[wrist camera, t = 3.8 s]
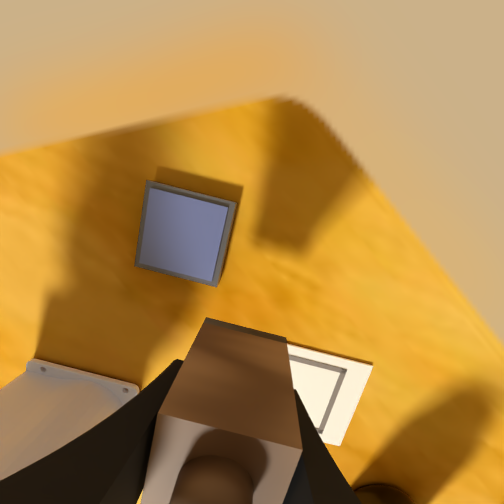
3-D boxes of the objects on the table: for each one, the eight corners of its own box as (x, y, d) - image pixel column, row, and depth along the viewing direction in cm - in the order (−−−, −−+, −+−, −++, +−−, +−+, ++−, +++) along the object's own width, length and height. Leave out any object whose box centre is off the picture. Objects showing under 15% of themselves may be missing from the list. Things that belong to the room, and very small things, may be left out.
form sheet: (225, 415, 20) (224, 417, 20) (247, 333, 19) (247, 334, 18) (339, 444, 20) (340, 446, 20) (372, 365, 18) (373, 367, 18)
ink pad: (141, 262, 18) (132, 266, 17) (153, 181, 16) (145, 179, 15) (219, 282, 18) (216, 288, 17) (237, 202, 16) (235, 202, 15)
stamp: (191, 385, 12) (118, 566, 6) (206, 317, 12) (138, 451, 5) (265, 403, 12) (264, 604, 6) (286, 337, 12) (309, 495, 5)
